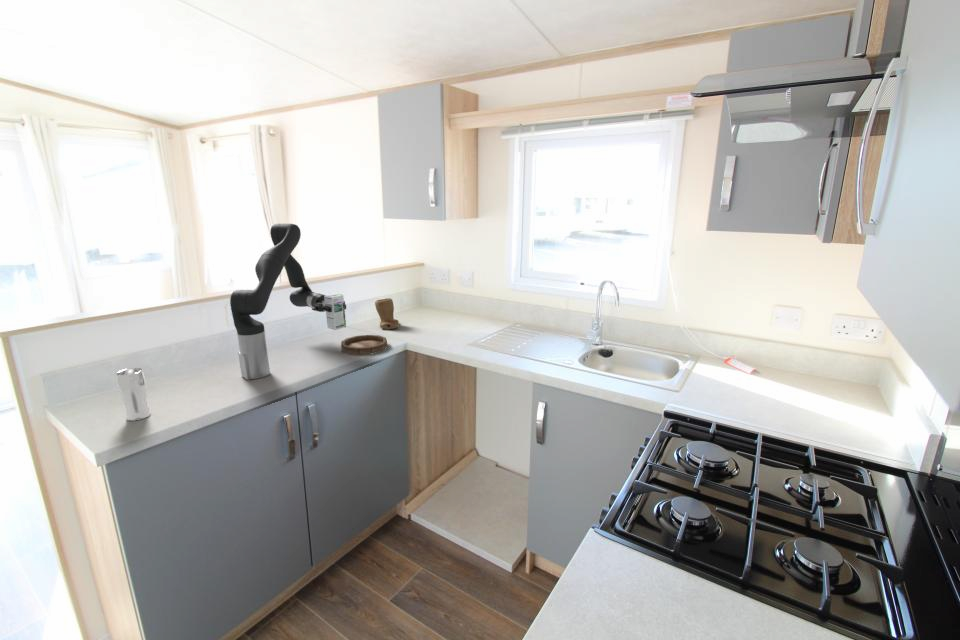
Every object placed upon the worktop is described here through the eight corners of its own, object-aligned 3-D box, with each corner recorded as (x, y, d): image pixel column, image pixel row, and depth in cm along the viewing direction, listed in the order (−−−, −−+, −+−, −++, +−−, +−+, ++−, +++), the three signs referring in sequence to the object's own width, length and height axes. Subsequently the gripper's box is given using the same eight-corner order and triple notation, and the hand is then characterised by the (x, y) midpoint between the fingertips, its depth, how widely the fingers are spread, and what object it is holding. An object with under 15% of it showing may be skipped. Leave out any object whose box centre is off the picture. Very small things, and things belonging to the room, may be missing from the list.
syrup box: (335, 330, 192) (332, 297, 188) (326, 328, 196) (323, 295, 192) (346, 327, 197) (343, 294, 193) (338, 325, 200) (335, 292, 196)
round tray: (357, 358, 193) (356, 351, 192) (333, 347, 206) (332, 341, 206) (395, 347, 207) (395, 341, 206) (371, 338, 220) (370, 332, 220)
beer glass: (119, 419, 140) (109, 373, 136) (142, 410, 146) (133, 366, 142) (134, 423, 137) (124, 377, 133) (157, 413, 143) (148, 369, 140)
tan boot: (377, 323, 247) (375, 296, 244) (399, 322, 249) (398, 295, 245) (375, 331, 233) (373, 302, 229) (398, 330, 235) (397, 301, 231)
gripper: (302, 296, 197) (321, 302, 186) (332, 291, 207) (352, 297, 196) (304, 312, 199) (323, 320, 188) (334, 307, 209) (353, 313, 198)
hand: (338, 308), depth 192 cm, fingers closed on syrup box, 6 cm apart
